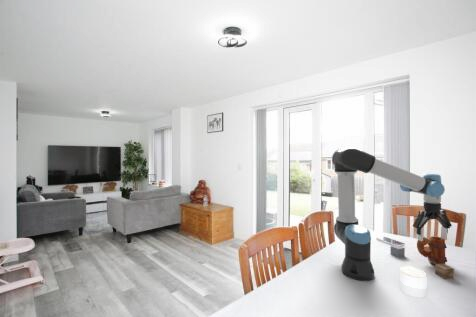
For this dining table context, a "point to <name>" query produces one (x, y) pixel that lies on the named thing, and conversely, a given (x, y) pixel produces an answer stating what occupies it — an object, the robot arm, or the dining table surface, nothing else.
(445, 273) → the walnut block
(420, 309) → the dining table surface
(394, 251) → the slate block
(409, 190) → the robot arm
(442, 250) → the mug
